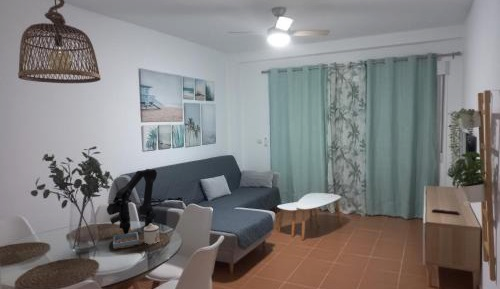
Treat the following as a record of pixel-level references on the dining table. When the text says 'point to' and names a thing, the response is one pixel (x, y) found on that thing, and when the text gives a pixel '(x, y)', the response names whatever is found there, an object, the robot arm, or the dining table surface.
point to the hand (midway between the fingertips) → (126, 234)
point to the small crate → (123, 231)
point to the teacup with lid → (151, 234)
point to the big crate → (126, 241)
